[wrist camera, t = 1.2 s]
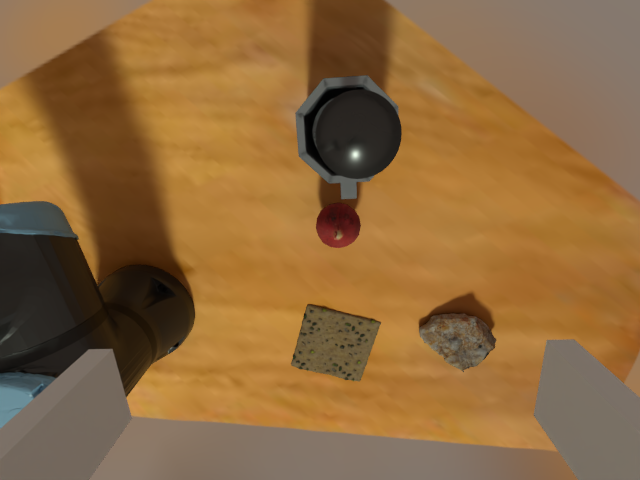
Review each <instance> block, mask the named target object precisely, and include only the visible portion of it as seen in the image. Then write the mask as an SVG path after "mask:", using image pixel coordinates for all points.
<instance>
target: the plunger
mask: <svg viewBox="0 0 640 480" xmlns="http://www.w3.org/2000/svg"><path fill="white" fill-rule="evenodd" d="M313 139H314V143H315V146H316V148H317V150H318V152H319V154H320V156H321V158H322V160H323V161H324V163H325V164H326V165H327V166H328V167H329V168H330V169H331V170H332V171H333V172H335V173H337V174H338V175H341V176H343V177H346V178H351V179H363V178H368V177H371V176H374V175H376V174H378V173H379V172H381V171H382V170H384V169H385V168H386V167H387V166H388V165H389V164H390V163H391V162H392V160H393V159H394V157H395V156H396V154H397V152H398V149H399V146H400V142H401V124H400V120H399V117H398V114H397V112H396V110H395V109H394V107H393V106H392V105H391V103H390V102H389V101H388V100H387V99H385V98H384V97H383V96H381V95H380V94H377V93H375V92H372V91H369V90H351V91H347V92H344V93H342V94H340V95H338V96H337V97H335V98H333V99H331V100H329V101H328V102H327V103H325V104H324V105H323V106H322V107H321V109H320V110H319V112H318V113H317V115H316V118H315V120H314V124H313Z"/></svg>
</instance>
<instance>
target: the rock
mask: <svg viewBox="0 0 640 480" xmlns="http://www.w3.org/2000/svg"><path fill="white" fill-rule="evenodd" d="M419 333H420V337H421V338H422V339H423V340H424V342H425V343H427V344H428V345H429V346H430V347H431V348H432V349H433V350H434V351H436V352H438V354H439V355H442V356H443V357H445V358H444V360H445V361H446V362H447V363H449V364H450V365H452V366H454V367H456V368H459V369H460V370H462V371H463V370H464V369H467V368H469V367H474V366H477V365H478V364H479V363H481V362H482V361H483V360H484V359H485V358H486V356H487V355H488V354H489V352H490V351H491V350H493V349H494V348H495V342H496V339H495V338H494V336H493V335H492V332H491V331H490V330H489V327H488V326H487V324H486V323H484V322H483V321H482V320H481V319H479V318H478V317H475V316H468V315H466V314H464V313H462V314H454V313H452V314H441V315H434V316H432V317H431V318H430V320H429V321H428V322H427V324H425V325H423V326H421V327H420V328H419ZM463 372H464V371H463Z"/></svg>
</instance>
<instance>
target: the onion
mask: <svg viewBox="0 0 640 480" xmlns="http://www.w3.org/2000/svg"><path fill="white" fill-rule="evenodd" d="M360 226H361V225H360V219H359V216H358V215H357V213H356V211H355V210H354V209H352V208H351V207H350V206H348V205H346V204H342V203H334V204H329V205H328V206H327V207H325V208H324V209H323V210H321V212H320V214H319V216H318V218H317V224H316V229H317V233H318V236H319V237H320V239H321V240H322V242H323V243H325V244H326V245H328V246H330V247H335V248H341V247H345V246H348V245H349V244H351V243H353V242H354V241H355V239H356V238H357V237H358V235H359V231H360Z"/></svg>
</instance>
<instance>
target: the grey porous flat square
mask: <svg viewBox="0 0 640 480" xmlns="http://www.w3.org/2000/svg"><path fill="white" fill-rule="evenodd" d="M380 324H381V322H378V321H375V320H373V319H367V318H363V317H359V316H354V315H350V314H346V313H342V312H339V311H335V310H330V309H326V308H322V307H318V306H314V305H307V307H306V312H305V314H304V319H303V321H302V327H301V330H300V333H299V338H298V341H297V346H296V349H295V353H294V355H293V360H292V363H291V365H292V366H294V367H297V368H299V369H305V370H307V371H308V370H309V371H313V372H319V373H323V374H329V375H332V376H336V377H339V378H343V379H345V380H352V381H360V380H361V377H362V375H363V372H364V369H365V366H366V364H367V360H368V357H369V355H370V352H371V349H372V346H373V344H374V340H375V338H376V335H377V332H378V329H379V326H380Z"/></svg>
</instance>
